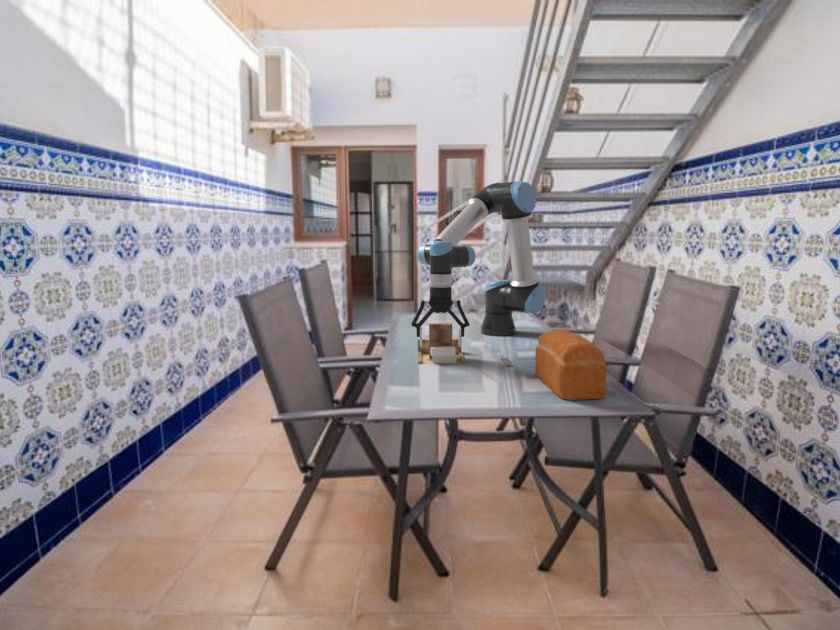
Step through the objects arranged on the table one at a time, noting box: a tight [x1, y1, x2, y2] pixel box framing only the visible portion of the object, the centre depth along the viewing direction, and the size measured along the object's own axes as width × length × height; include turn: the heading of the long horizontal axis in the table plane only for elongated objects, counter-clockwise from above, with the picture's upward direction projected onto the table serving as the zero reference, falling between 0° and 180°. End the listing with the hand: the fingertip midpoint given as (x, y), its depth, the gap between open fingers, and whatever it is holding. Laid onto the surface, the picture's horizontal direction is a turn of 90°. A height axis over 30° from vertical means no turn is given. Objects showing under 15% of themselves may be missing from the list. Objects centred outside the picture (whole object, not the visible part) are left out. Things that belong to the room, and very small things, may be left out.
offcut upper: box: [431, 346, 455, 356], centre depth 183 cm, size 8×4×2 cm, turn 97°
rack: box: [417, 338, 466, 365], centre depth 189 cm, size 16×16×6 cm
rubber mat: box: [500, 357, 514, 367], centre depth 186 cm, size 14×10×1 cm
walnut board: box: [428, 322, 453, 359], centre depth 188 cm, size 8×3×12 cm, turn 91°
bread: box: [534, 329, 608, 401], centre depth 158 cm, size 14×26×16 cm, turn 5°
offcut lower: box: [433, 353, 457, 364], centre depth 183 cm, size 8×4×2 cm, turn 91°
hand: (440, 346), depth 189 cm, fingers open, 13 cm apart
